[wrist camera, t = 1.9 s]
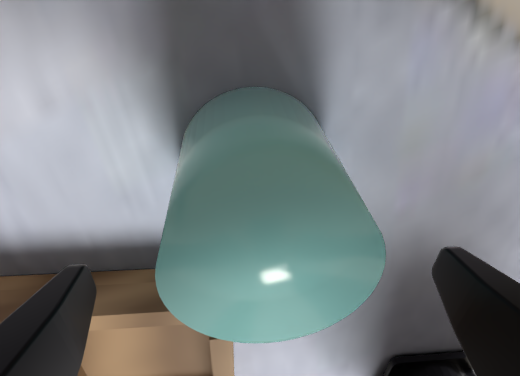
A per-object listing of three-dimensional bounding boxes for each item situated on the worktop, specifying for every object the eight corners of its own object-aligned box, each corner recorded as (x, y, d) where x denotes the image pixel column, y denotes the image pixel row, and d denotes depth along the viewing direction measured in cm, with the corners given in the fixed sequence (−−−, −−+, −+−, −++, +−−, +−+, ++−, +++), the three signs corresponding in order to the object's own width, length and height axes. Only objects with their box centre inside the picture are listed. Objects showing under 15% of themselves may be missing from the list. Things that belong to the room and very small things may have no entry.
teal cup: (333, 86, 12) (415, 182, 7) (313, 209, 15) (360, 335, 10) (173, 86, 11) (134, 190, 6) (188, 214, 14) (170, 350, 9)
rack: (230, 265, 16) (232, 324, 14) (234, 376, 22) (235, 431, 20) (-182, 285, 14) (-271, 357, 12) (-54, 399, 21) (-93, 463, 18)
